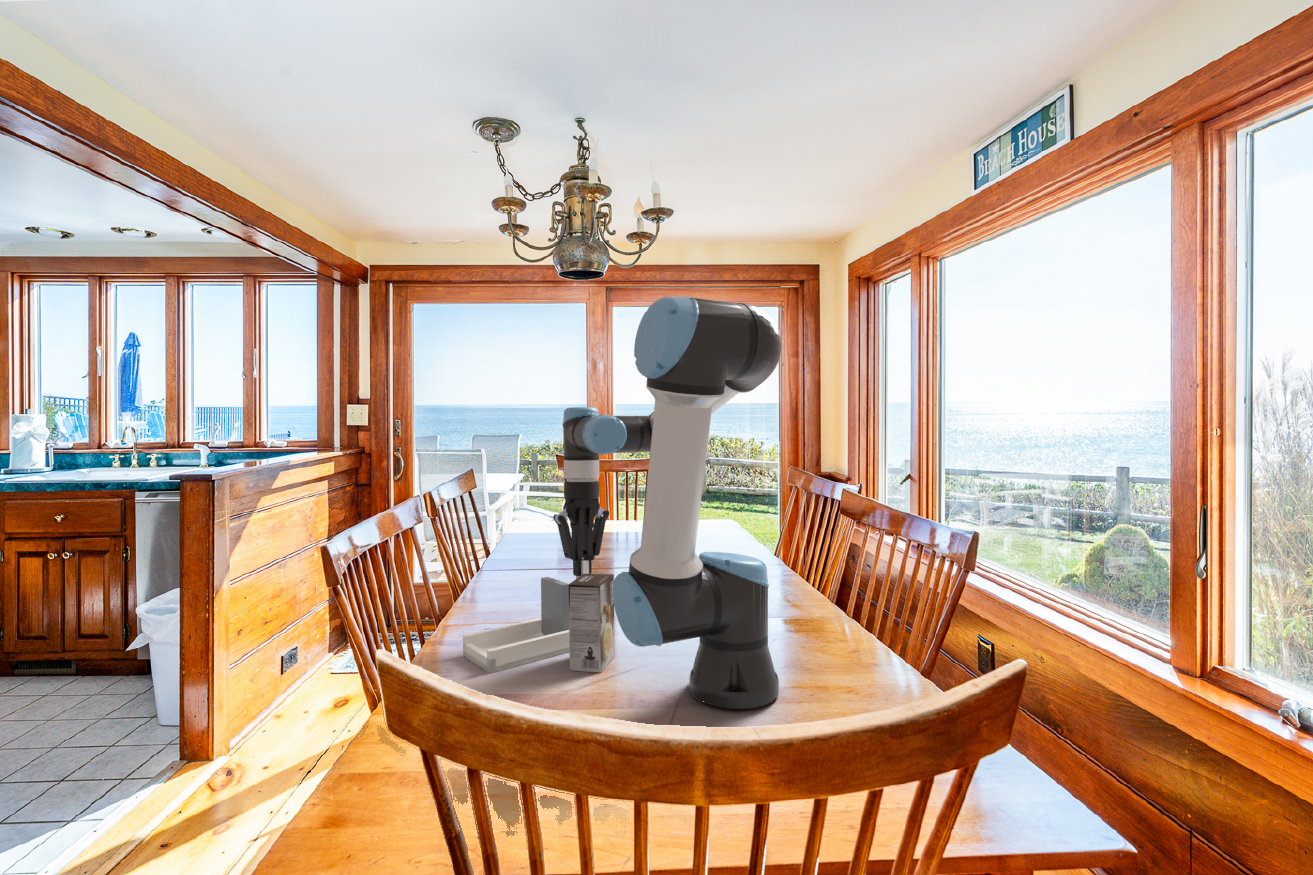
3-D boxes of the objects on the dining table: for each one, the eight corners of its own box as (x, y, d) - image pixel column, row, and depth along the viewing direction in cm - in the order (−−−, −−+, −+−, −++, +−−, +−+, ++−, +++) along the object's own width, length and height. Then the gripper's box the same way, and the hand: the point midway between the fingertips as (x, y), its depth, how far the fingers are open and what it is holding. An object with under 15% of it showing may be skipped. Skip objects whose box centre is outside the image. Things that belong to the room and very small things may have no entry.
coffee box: (584, 653, 124) (583, 572, 124) (615, 655, 122) (614, 573, 122) (568, 671, 115) (567, 583, 115) (602, 673, 113) (601, 585, 113)
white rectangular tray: (607, 641, 131) (606, 613, 130) (489, 673, 114) (489, 640, 114) (575, 628, 140) (575, 601, 140) (463, 655, 123) (462, 625, 123)
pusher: (570, 642, 127) (569, 584, 127) (563, 643, 126) (563, 585, 126) (548, 631, 133) (547, 576, 133) (541, 633, 132) (540, 577, 132)
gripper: (597, 477, 141) (597, 582, 141) (545, 480, 132) (546, 592, 132) (616, 479, 135) (617, 588, 135) (564, 482, 126) (565, 599, 127)
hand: (582, 590), depth 134 cm, fingers closed
